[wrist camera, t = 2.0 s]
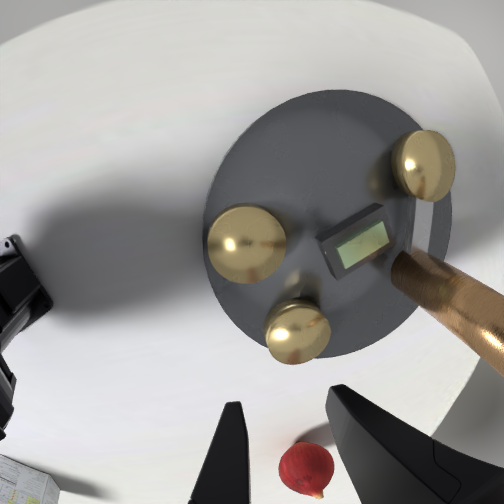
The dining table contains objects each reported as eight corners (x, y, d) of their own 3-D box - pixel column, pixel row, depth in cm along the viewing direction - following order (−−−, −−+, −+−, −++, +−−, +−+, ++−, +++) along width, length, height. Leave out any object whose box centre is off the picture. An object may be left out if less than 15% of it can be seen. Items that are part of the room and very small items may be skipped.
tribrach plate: (281, 385, 24) (290, 409, 21) (144, 178, 17) (134, 182, 14) (456, 271, 24) (476, 283, 21) (394, 62, 17) (418, 54, 14)
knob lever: (391, 126, 17) (559, 129, 5) (439, 136, 18) (584, 152, 6) (378, 292, 21) (493, 397, 9) (424, 284, 22) (534, 366, 10)
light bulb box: (12, 471, 26) (-1, 514, 16) (-2, 452, 24) (-20, 498, 14) (62, 490, 28) (53, 539, 18) (50, 473, 26) (37, 526, 16)
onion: (271, 459, 28) (286, 514, 21) (273, 434, 27) (291, 495, 19) (318, 450, 29) (339, 500, 22) (325, 423, 27) (352, 479, 20)
